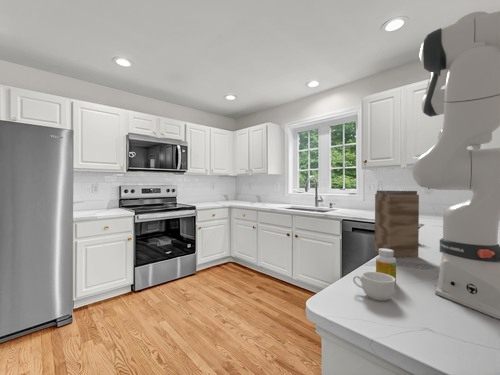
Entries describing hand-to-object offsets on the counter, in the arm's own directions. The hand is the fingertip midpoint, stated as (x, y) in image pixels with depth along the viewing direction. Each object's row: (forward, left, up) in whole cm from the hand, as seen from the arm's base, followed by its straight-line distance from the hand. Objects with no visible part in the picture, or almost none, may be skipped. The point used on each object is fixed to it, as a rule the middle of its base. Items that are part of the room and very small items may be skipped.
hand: (461, 158), depth 100 cm
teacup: (-29, +57, -41) cm, 76 cm away
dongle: (+10, -14, -41) cm, 44 cm away
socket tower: (+10, +21, -41) cm, 47 cm away
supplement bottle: (-20, +47, -41) cm, 66 cm away
